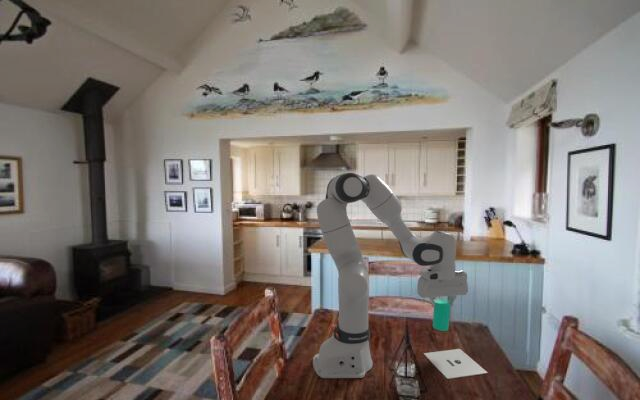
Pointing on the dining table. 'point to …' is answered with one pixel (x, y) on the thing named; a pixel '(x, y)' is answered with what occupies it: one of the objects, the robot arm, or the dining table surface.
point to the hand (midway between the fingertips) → (442, 306)
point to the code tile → (454, 363)
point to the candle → (441, 315)
